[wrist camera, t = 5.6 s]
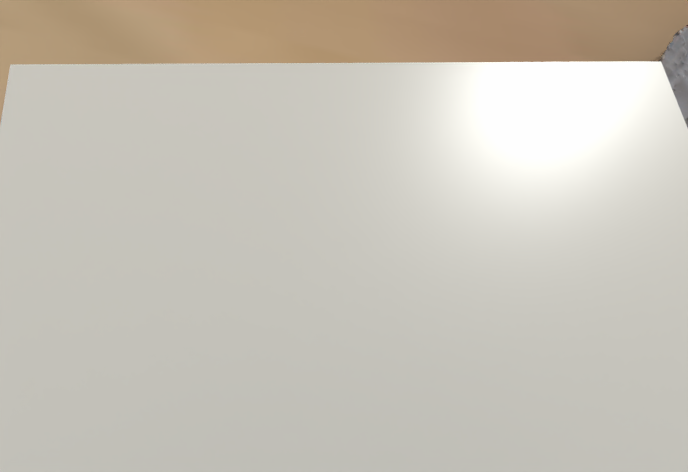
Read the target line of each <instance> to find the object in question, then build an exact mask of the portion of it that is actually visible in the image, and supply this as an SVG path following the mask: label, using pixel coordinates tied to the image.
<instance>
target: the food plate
mask: <svg viewBox="0 0 688 472" xmlns="http://www.w3.org/2000/svg"><path fill="white" fill-rule="evenodd" d="M678 32H679V31H678ZM678 32H677V33H676V34H675V35H676V36H675V35H674V36H675V37H674V36H673V37H674V38H673V41H672V43H670V45H669V44H668V46H667V50H666V51H665V52H664V53H663V55H662V57H661V59H660V60H659V61H661V63H662V65H663V68H664V70H665V73H666V75H667V78H668V80H669V83H670V85H671V88H672V90H673V93H674V95H675V98H676V100H677V103H678V105H679V108H680V110H681V113H682V115H683V118H684V120H685V123H686V125H687V128H688V25H687V26H686V27H684V28H683V29H682V30H680V32H679V34H678Z"/></svg>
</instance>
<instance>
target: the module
mask: <svg viewBox="0 0 688 472" xmlns="http://www.w3.org/2000/svg"><path fill="white" fill-rule="evenodd" d="M0 472H688V128H687V125H686V123H685V120H684V118H683V115H682V113H681V110H680V108H679V105H678V103H677V100H676V98H675V95H674V93H673V90H672V88H671V85H670V83H669V80H668V78H667V75H666V73H665V70H664V68H663V65H662V63H661V61H659V62H450V63H240V64H31V65H10V71H9V77H8V83H7V89H6V95H5V101H4V107H3V113H2V119H1V124H0Z"/></svg>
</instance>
